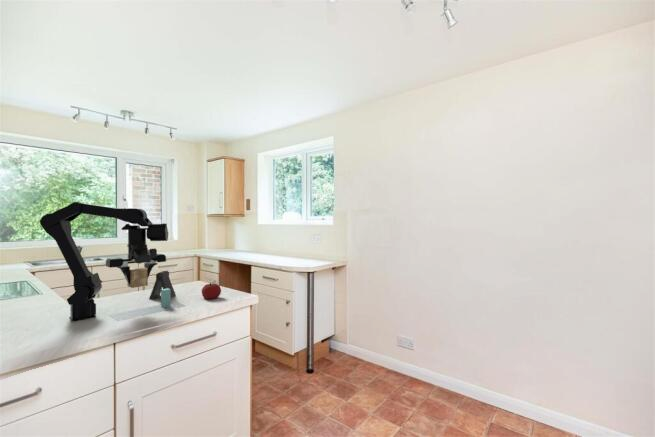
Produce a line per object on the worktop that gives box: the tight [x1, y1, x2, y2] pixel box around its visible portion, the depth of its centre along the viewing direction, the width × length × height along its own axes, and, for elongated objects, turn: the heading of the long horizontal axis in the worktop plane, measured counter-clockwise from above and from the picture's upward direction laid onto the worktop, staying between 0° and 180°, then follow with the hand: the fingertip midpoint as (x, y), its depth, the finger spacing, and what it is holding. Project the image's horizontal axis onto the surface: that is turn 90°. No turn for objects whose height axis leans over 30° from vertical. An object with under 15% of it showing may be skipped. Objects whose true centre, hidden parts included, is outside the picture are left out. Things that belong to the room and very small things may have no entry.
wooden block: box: [126, 266, 149, 289], centre depth 115 cm, size 5×5×7 cm
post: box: [160, 288, 171, 308], centre depth 123 cm, size 3×3×7 cm
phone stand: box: [148, 270, 176, 300], centre depth 137 cm, size 9×6×12 cm, turn 92°
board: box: [109, 301, 187, 322], centre depth 119 cm, size 24×10×1 cm, turn 139°
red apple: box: [201, 282, 222, 301], centre depth 137 cm, size 8×8×7 cm
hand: (137, 282), depth 115 cm, fingers closed on wooden block, 5 cm apart
